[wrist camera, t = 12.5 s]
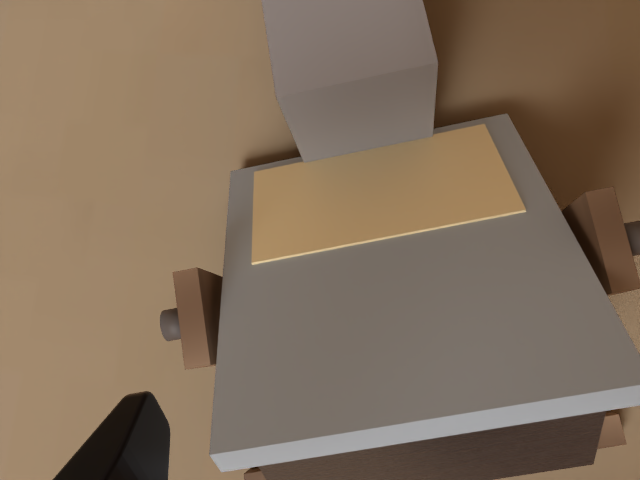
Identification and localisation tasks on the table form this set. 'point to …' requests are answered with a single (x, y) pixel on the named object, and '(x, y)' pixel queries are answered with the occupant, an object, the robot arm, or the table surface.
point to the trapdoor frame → (581, 215)
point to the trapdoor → (412, 318)
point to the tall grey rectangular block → (352, 72)
